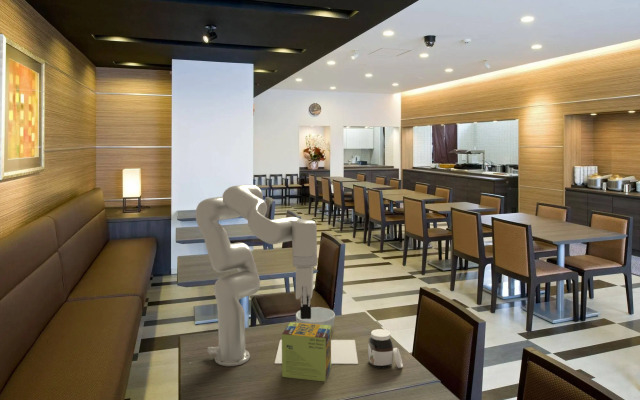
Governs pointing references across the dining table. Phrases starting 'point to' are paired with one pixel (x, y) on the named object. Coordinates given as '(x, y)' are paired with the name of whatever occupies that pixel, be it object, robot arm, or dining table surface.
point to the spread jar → (382, 350)
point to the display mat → (333, 352)
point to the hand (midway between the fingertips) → (305, 317)
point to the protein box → (306, 351)
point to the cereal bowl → (318, 316)
